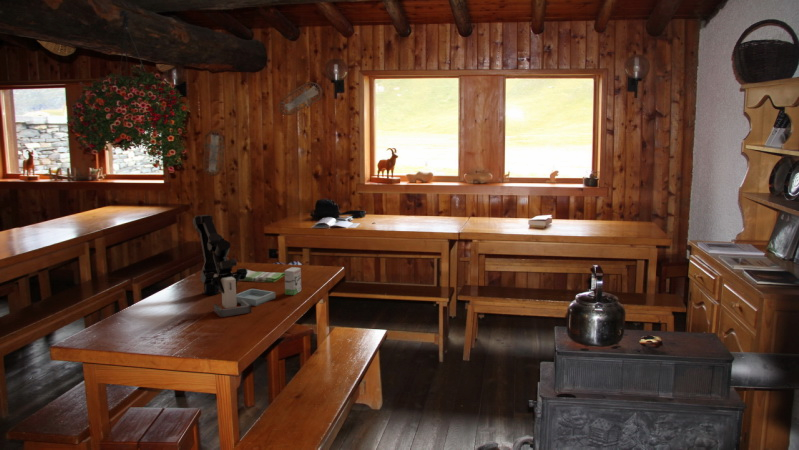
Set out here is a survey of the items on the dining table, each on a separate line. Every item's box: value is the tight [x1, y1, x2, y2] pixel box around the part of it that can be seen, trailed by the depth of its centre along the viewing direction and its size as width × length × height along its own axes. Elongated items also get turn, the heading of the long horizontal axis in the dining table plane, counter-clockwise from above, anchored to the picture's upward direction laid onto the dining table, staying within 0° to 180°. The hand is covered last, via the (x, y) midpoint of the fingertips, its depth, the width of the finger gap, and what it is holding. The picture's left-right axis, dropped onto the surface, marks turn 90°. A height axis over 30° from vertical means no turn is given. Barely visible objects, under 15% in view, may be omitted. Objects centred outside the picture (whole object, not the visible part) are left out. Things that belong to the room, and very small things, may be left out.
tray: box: [236, 288, 276, 307], centre depth 309 cm, size 14×14×3 cm
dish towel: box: [238, 268, 285, 283], centre depth 351 cm, size 17×23×4 cm
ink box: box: [284, 266, 302, 296], centre depth 320 cm, size 9×5×12 cm, turn 163°
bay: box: [213, 300, 252, 318], centre depth 291 cm, size 11×13×3 cm
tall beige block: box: [221, 277, 238, 309], centre depth 293 cm, size 6×5×12 cm
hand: (229, 292), depth 293 cm, fingers closed on tall beige block, 5 cm apart
